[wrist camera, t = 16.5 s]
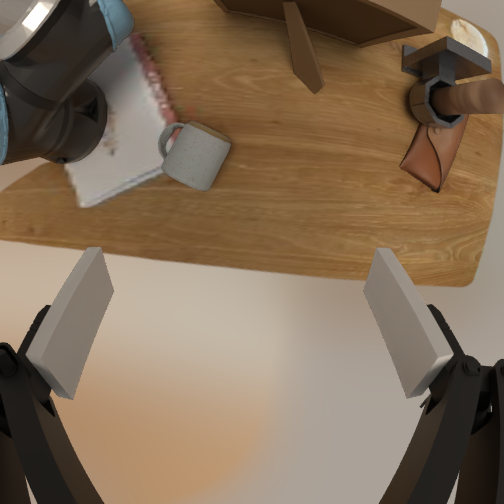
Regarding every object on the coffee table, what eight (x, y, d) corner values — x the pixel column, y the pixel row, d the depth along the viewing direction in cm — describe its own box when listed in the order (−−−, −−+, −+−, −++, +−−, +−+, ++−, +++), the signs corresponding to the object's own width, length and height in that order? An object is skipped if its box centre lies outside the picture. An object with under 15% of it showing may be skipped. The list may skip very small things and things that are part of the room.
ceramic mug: (237, 140, 42) (231, 138, 35) (212, 188, 45) (202, 196, 38) (175, 111, 41) (158, 105, 34) (153, 159, 43) (133, 162, 36)
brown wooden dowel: (415, 101, 35) (482, 90, 20) (429, 86, 34) (495, 72, 19) (432, 121, 36) (500, 120, 21) (445, 106, 35) (513, 101, 20)
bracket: (436, 133, 40) (489, 135, 27) (397, 119, 40) (444, 115, 27) (441, 61, 35) (490, 45, 22) (402, 45, 35) (445, 20, 22)
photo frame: (231, -8, 33) (208, -107, 10) (365, 27, 35) (443, -42, 11) (206, 69, 38) (149, 3, 15) (346, 105, 40) (433, 78, 16)
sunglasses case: (430, 78, 37) (464, 86, 32) (445, 99, 41) (476, 107, 36) (396, 170, 43) (429, 184, 38) (414, 183, 47) (444, 197, 42)
